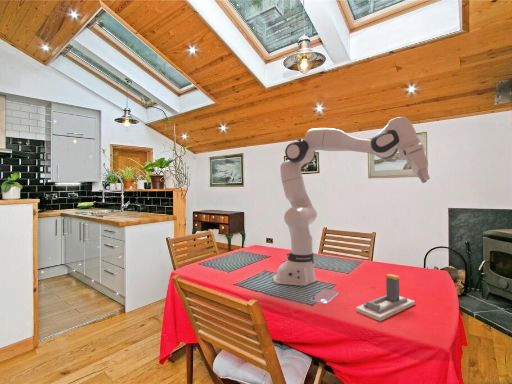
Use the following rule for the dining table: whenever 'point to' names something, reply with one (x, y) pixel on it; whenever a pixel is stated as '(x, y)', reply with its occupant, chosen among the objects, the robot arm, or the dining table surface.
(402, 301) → the switch plate
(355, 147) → the robot arm
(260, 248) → the dining table surface
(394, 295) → the switch tab
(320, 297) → the mobile phone
